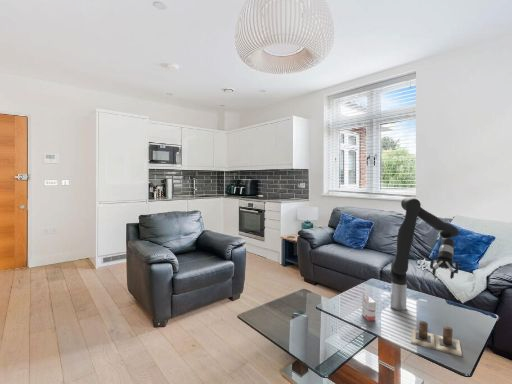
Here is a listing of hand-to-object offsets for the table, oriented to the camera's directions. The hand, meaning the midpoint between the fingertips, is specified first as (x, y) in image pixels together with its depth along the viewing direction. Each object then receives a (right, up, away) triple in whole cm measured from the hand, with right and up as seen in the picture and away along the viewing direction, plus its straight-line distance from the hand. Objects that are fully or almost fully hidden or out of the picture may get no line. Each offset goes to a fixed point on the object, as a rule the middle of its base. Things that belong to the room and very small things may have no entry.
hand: (442, 276), depth 167 cm
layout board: (-16, -30, -18) cm, 39 cm away
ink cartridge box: (-41, -29, +8) cm, 51 cm away
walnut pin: (-12, -29, -21) cm, 37 cm away
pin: (-21, -28, -16) cm, 39 cm away
